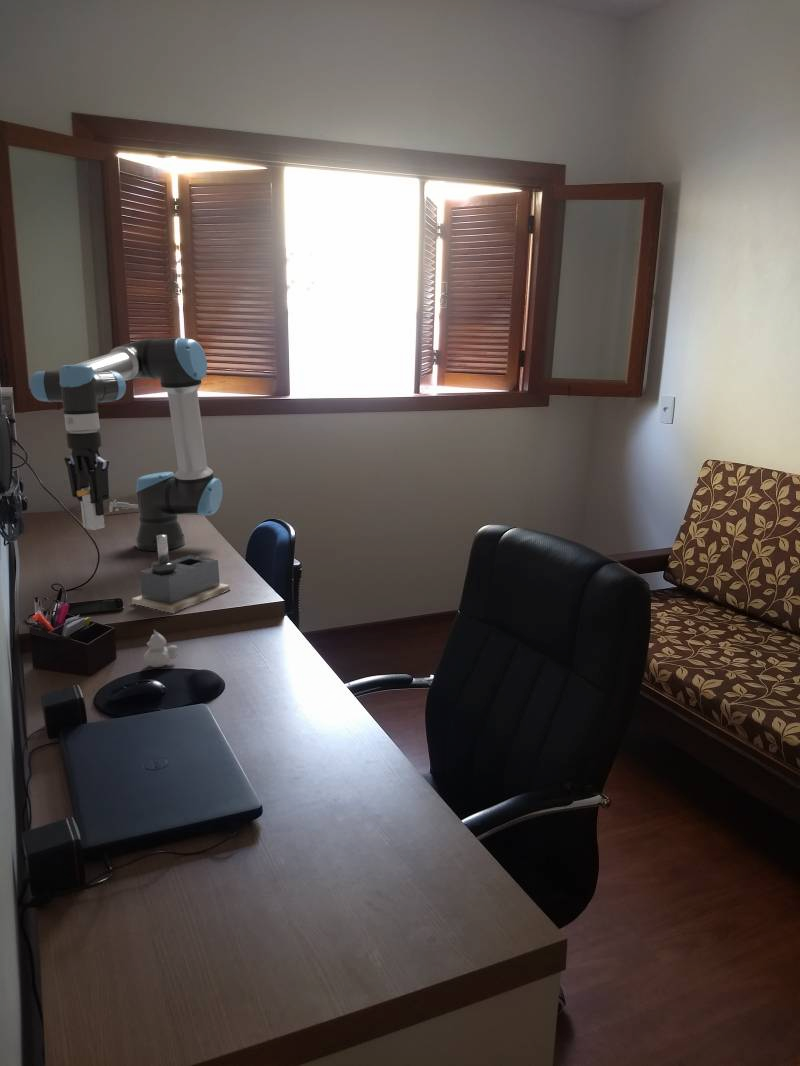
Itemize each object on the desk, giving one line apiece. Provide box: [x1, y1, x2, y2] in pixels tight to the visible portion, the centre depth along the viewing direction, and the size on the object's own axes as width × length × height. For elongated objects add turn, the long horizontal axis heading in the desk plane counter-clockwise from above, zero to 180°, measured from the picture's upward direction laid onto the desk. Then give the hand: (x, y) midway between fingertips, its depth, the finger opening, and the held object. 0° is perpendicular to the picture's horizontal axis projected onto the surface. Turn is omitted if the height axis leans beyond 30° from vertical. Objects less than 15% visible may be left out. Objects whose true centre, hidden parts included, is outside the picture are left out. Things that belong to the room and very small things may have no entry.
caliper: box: [108, 499, 138, 513], centre depth 293 cm, size 20×1×6 cm, turn 118°
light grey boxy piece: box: [76, 486, 105, 531], centre depth 186 cm, size 7×3×10 cm, turn 150°
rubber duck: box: [143, 629, 178, 668], centre depth 155 cm, size 5×7×8 cm
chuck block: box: [139, 534, 221, 605], centre depth 194 cm, size 17×10×16 cm, turn 150°
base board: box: [131, 582, 231, 614], centre depth 196 cm, size 20×14×2 cm
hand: (94, 527), depth 187 cm, fingers closed on light grey boxy piece, 3 cm apart
